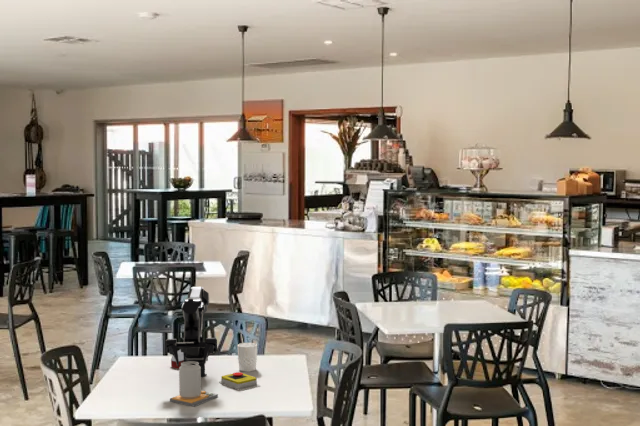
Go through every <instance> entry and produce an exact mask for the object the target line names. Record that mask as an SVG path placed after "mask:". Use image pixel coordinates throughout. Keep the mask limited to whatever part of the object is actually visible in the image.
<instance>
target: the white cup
mask: <svg viewBox="0 0 640 426" xmlns="http://www.w3.org/2000/svg"><path fill="white" fill-rule="evenodd" d="M257 358H258V343H254V342H240V343H239V344H237V359H238V370H239V371H240V372H253V371H256V369H257V361H258V359H257Z"/></svg>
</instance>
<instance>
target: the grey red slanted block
mask: <svg viewBox="0 0 640 426" xmlns="http://www.w3.org/2000/svg"><path fill="white" fill-rule="evenodd" d="M177 352H178V360H179V367H180V366H181V363H183V362H184V354H183V352H181V348H179V350H178V349H177ZM170 361H171V362H170V365H171V367H170V368H173V369H178V370H179V367H178V366H177V363H176V360H175V358H174V356H173V355H172V356H171V359H170Z"/></svg>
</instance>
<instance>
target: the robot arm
mask: <svg viewBox="0 0 640 426" xmlns="http://www.w3.org/2000/svg"><path fill="white" fill-rule="evenodd" d="M208 306H210V295H209V292H208V291H207V290H204V286H192V287H190V290H189V291H188V294H187V298H185V299H184V302H182V305H181V312H182V316H183V320H184V324H183V326H184V328H183V342H182V341H181V342H178V341H177V338H167V339H166V340H165V341H164V342H165V343H164V347H165V353H167V354H169V355H172V356H174V358H175V360H176V363H177V366H178V367H179V360H178V352H177V351H178V349H181V352H183V354H184V362H188V361H195V362H198V363H199V364H198V365H199V366H200V367H201V378H203V377H206V376H208V375H207V373H206V369H205V368H206V367H205V365H206V364H207V362H208V361H209V356H210V355H211V354H214V352H215V353H216V352H218V338H216V337H206V338H205V339H206V340H204V337H203V336H202V332H203V331H202V330H203V329H202V328H203V320H204V319H203V318H204V317H203V316H204V314H206V313H207V311H208Z"/></svg>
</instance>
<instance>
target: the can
mask: <svg viewBox="0 0 640 426" xmlns="http://www.w3.org/2000/svg"><path fill="white" fill-rule="evenodd" d="M198 364H199V363H198V362H195V361H188V362H183V363H181V366H180V367H179V369H178V373H179V375H178V376H179V377H178V378H179V379H178V381H179V395H180V396H181V397H182V398H184V399H194V398H197V397H199V395H201V391H202V377H201V367H200V366H199V365H198Z"/></svg>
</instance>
